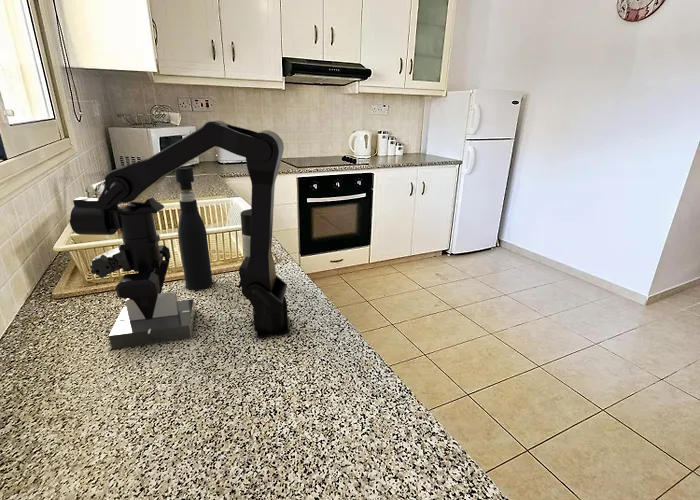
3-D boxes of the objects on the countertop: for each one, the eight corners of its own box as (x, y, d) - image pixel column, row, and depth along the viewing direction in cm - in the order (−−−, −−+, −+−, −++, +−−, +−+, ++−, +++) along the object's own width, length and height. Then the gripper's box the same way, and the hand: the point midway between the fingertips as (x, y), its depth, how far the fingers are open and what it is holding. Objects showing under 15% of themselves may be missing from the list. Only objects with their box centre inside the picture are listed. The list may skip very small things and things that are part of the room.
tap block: (195, 308, 85) (194, 296, 84) (190, 341, 74) (188, 327, 72) (127, 316, 81) (124, 304, 80) (110, 352, 70) (106, 338, 69)
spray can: (270, 293, 93) (265, 215, 86) (243, 292, 93) (236, 215, 86) (276, 281, 99) (271, 208, 92) (250, 280, 99) (244, 207, 92)
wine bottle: (217, 283, 97) (204, 167, 86) (196, 292, 92) (179, 170, 81) (202, 277, 100) (186, 164, 90) (180, 286, 95) (162, 167, 85)
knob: (179, 310, 78) (175, 290, 77) (178, 314, 77) (174, 294, 75) (131, 316, 76) (126, 295, 74) (129, 321, 74) (124, 300, 73)
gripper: (105, 223, 76) (120, 291, 82) (70, 256, 59) (93, 339, 65) (164, 219, 79) (175, 285, 85) (148, 250, 63) (163, 329, 68)
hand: (153, 307), depth 76 cm, fingers open, 9 cm apart
